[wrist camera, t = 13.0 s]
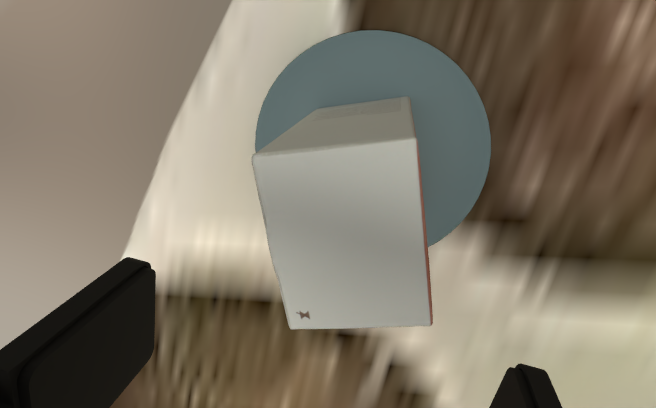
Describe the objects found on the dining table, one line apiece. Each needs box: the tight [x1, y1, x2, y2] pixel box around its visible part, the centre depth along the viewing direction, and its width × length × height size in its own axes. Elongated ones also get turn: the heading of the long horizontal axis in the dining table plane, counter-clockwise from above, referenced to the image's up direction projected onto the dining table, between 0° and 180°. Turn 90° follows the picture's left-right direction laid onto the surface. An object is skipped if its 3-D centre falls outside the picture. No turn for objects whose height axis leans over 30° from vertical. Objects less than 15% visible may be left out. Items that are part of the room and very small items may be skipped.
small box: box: [252, 96, 433, 329], centre depth 22 cm, size 8×6×13 cm
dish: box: [255, 30, 491, 247], centre depth 28 cm, size 16×16×1 cm
